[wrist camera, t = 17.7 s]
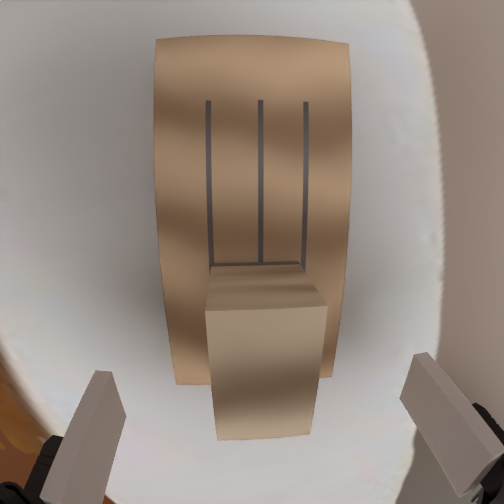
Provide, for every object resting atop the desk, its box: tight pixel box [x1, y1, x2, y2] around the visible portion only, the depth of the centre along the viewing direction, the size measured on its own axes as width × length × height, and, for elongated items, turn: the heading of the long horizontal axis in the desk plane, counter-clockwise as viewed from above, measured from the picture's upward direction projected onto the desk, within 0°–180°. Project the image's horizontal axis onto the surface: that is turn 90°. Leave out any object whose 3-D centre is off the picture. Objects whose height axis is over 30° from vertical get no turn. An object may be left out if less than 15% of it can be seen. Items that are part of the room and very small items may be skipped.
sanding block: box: [205, 261, 328, 440], centre depth 17 cm, size 8×5×6 cm, turn 0°
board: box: [154, 35, 352, 385], centre depth 19 cm, size 22×11×2 cm, turn 0°
